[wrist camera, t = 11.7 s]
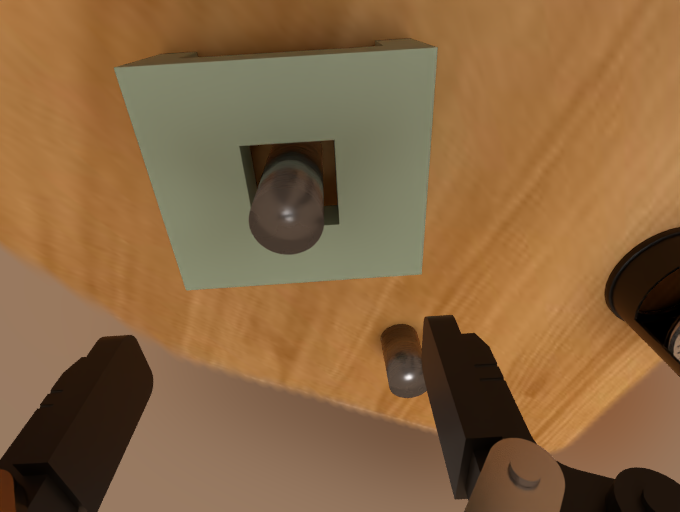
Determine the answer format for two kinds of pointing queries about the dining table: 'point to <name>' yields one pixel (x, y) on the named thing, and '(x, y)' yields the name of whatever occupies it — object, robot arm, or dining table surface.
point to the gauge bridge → (287, 127)
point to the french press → (634, 285)
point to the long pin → (290, 199)
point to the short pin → (403, 361)
